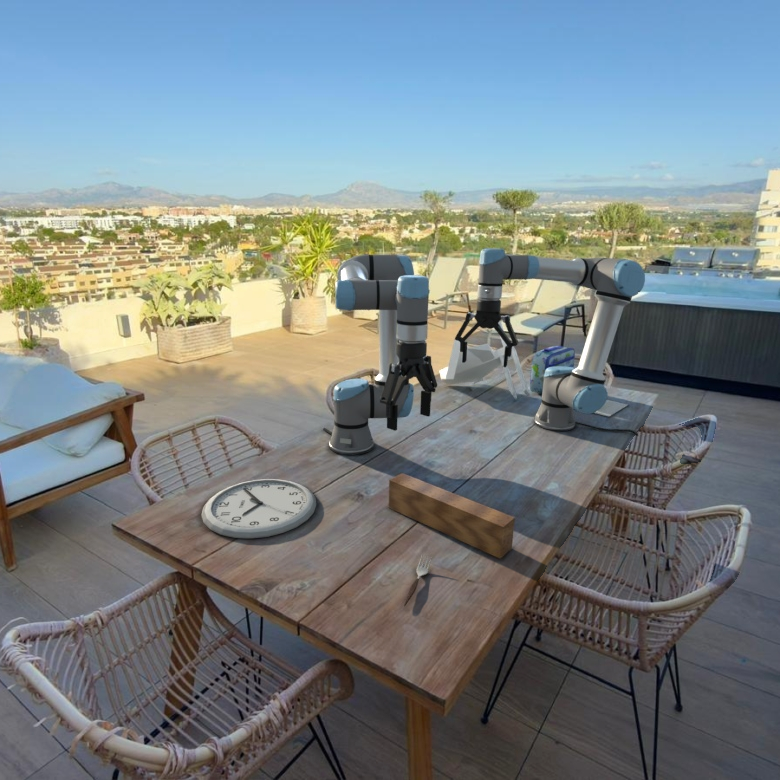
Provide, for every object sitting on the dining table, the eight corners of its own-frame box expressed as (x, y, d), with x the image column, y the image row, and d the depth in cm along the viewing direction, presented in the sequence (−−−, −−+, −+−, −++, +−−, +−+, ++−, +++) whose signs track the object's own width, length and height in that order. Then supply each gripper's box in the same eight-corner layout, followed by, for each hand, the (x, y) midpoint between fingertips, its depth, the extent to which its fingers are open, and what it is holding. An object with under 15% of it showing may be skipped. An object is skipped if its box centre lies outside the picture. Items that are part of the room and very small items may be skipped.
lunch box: (546, 399, 235) (551, 353, 228) (525, 393, 242) (530, 349, 236) (574, 387, 252) (579, 345, 246) (553, 383, 260) (558, 341, 253)
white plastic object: (461, 429, 252) (437, 405, 227) (444, 352, 274) (420, 323, 250) (535, 404, 240) (518, 377, 215) (510, 326, 262) (492, 293, 237)
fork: (398, 606, 105) (398, 598, 104) (421, 561, 119) (421, 553, 119) (410, 610, 104) (410, 601, 103) (432, 564, 118) (432, 556, 118)
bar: (511, 548, 125) (514, 517, 122) (500, 558, 121) (503, 527, 118) (401, 500, 146) (402, 472, 144) (388, 507, 142) (389, 479, 139)
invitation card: (608, 416, 214) (573, 407, 224) (608, 416, 214) (573, 408, 224) (628, 404, 229) (594, 396, 238) (628, 405, 229) (594, 397, 238)
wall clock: (313, 530, 128) (186, 534, 125) (313, 536, 128) (187, 540, 125) (318, 474, 156) (215, 477, 154) (318, 479, 157) (216, 482, 154)
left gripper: (429, 331, 139) (426, 406, 145) (365, 345, 121) (365, 431, 127) (453, 335, 134) (448, 413, 141) (389, 351, 116) (388, 439, 123)
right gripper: (447, 297, 166) (444, 362, 173) (527, 303, 158) (521, 370, 164) (454, 295, 173) (450, 357, 179) (531, 300, 164) (524, 365, 171)
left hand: (409, 421), depth 134 cm, fingers open, 13 cm apart
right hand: (484, 364), depth 172 cm, fingers open, 13 cm apart
